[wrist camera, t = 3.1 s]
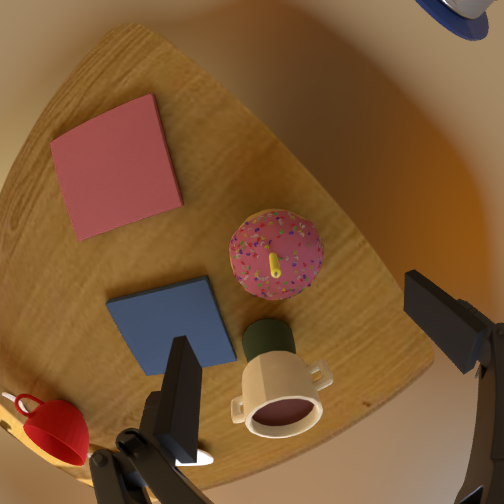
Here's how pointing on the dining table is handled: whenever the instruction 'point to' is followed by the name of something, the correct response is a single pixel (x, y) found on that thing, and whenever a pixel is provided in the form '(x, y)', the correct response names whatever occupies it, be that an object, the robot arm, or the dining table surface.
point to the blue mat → (172, 324)
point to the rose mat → (116, 168)
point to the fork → (14, 400)
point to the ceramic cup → (57, 429)
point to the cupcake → (276, 254)
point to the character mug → (278, 383)
